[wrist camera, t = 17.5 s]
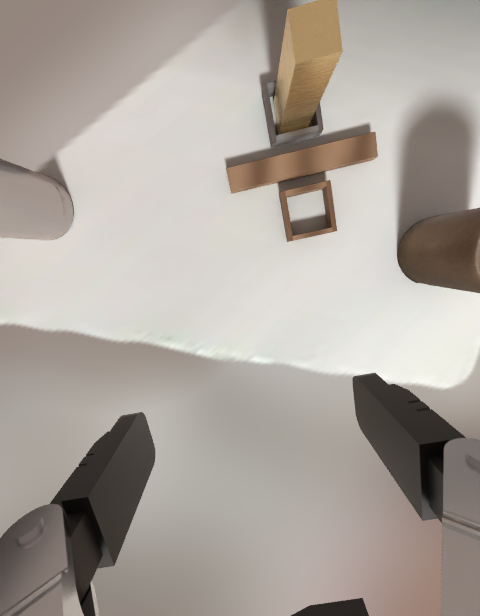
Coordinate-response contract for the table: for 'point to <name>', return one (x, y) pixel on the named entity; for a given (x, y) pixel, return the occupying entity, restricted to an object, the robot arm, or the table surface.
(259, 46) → the table surface
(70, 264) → the table surface
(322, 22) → the tan wooden block
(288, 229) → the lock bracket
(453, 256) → the pillar candle
